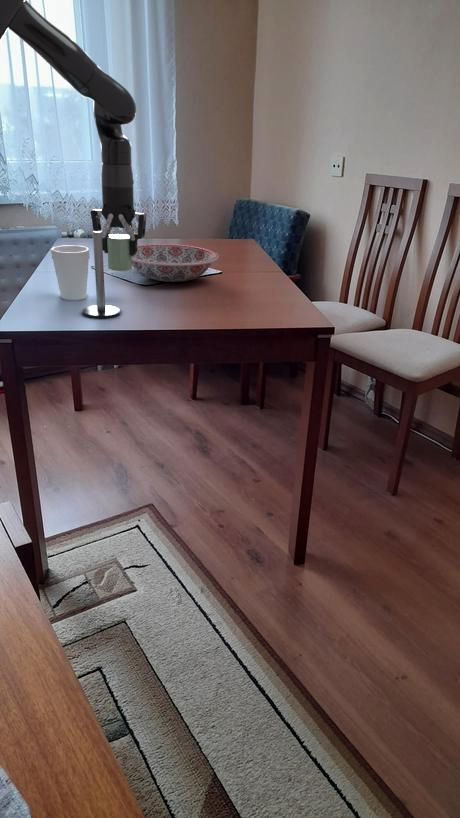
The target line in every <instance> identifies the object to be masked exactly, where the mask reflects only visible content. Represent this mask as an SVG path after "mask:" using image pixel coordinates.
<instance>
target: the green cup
mask: <svg viewBox="0 0 460 818" xmlns="http://www.w3.org/2000/svg"><path fill="white" fill-rule="evenodd" d="M130 241H131V239H130V237H129V235H128V234H121V233H120V234H119V233H117V234H116V233H115V234H113V233H112V234H109V235H108V236H107V246H108V253H107V265H108V269H109V270H110V271H116V272H127V271H131V270H133V266H132V256H131V255H130Z"/></svg>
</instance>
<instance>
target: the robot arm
mask: <svg viewBox="0 0 460 818" xmlns="http://www.w3.org/2000/svg"><path fill="white" fill-rule="evenodd" d="M8 29H9V30H10V31H11V32H12V33H14V34H15V35H16V36H18V37H19V38H20V39H21V41H23V42H24V43H25V44H27V45H28V46H29V47H30V48H31V49H32V50H33V51H34V52H36V53H37V54H38V55H39V56H40V57H42V59H43V60H44V61H45V62H46V63H47V64H48V65H50V66H51V67H52V68H53V70H54V71H55V72H56V73H57V74H58V75H59V76H60V77H61V78H62V79H63V80H64V81H66V83H67V84H68V85H70V87H72V89H73V90H74V91H75V92H76V93H78V94H79V95H81V97H83V98H87V99H89V100H92V101H93V108H92V109H93V118H94V122H95V128H96V130H97V134H98V138H99V141H100V151H101V152H100V153H101V154H100V155H101V169H100V170H101V172H100V173H101V175H100V176H101V177H100V178H101V193H102V194H101V197H102V198H101V199H102V208H101V209H98V208H95V209H91V211H90V218H91V224H92V229H93V230H92V232H93V231H101V232H102V248H103V254H108V246H107V236H108V235H110V233H111V231H112V229H113V228H114V229H115V228H120V229H124V231H125V232H126V234H127V235H129V237H130V239H131V241H130V255H131V256H134V255H135V253H137V251H138V249H137V246H138V241H139V240H141V239H143V238H145V236H146V227H147V226H146V225H147V214H146V212H143V213H142V212H137V211H136V210H135V207H134V204H135V202H134V183H135V182H134V174H133V165H132V163H133V162H132V143H131V140H130V139H129V138H128V137H126V136H125V135H124V133H123V129H122V126H124V125H128V124H130V123H132V122H133V121H134V120H135V118H136V115H137V104H136V102H135V100H134V97H133V96H132V94H131V93H130V91H128V90H127V89H126V88H125V87H124V86H123V85H122V84H121V83H119V82H118V81H117V80H116V79H114V78H113V77H112V76H110V75H109V74H108V73H107V72H105V71H103V70H102V69H101V68H100V67H99V65H97V63H96V62H95V61H94V60H93V59H92V58H91V56H90V55H88V53H87V52H86V51H84V49H83V47H81V46H80V45H79V44H77V43H76V42H75V41H74V40H73V38H71V37H69V36H68V35H67V34H66V33H65V32H63V31H62V30H61V29H59V28H58V27H56V26H55V25H53V24H52V23H51V22H50V21H49V20H48V19H46V18H45V17H44V16H43V15H42V14H41V13H40V12H38V10H36V8H34V7H33V6H32V5H31V3H29V2H28V1H27V0H0V42H1V40H2V39H3V37H4V36H5V34H6V33H7V31H8ZM102 216H103V218H104V219H105V223H104V225H103V227H102V223H101V218H102ZM134 219H136V222H137V231H136V228H135V226H134V223H133V220H134ZM102 228H103V229H102Z"/></svg>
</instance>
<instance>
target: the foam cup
mask: <svg viewBox="0 0 460 818" xmlns="http://www.w3.org/2000/svg"><path fill="white" fill-rule="evenodd" d="M50 253H51V259H52V263H53V267H54V271H55V275H56V280H57V284H58V288H59V293H60V297H61V299H63V300H65V301H66V300H67V301H81V300H84V299H86V298H87V291H88V276H89V262H90V255H91V254H90V248H89V247H87V246H84V245H73V244H68V245H67V244H65V245H56V246H52V248H51V249H50Z"/></svg>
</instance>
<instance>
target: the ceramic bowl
mask: <svg viewBox="0 0 460 818" xmlns="http://www.w3.org/2000/svg"><path fill="white" fill-rule="evenodd" d="M137 249H138V251H137V253H135V255H134V256H132V268H134V269H135V271H136V272H138V273H139V274H140V275H142V276H144V277H145V278H147V279H151V280H153V281H159V282H166V283H167V282H168V283H180V282H188V281H192V280H195V279H197V278H199V277H201V276H203V274H204V273H206V272H207V270H208V269H209V268H210V266H211V265H212V263H214V262H216V261H218V260H219V254H218V253H217V252H215V251H214V250H211V249H208V248H205V247H199V246H194V245H186V244H178V243H177V244H176V243H149V244H140V245H139V244H138V245H137Z"/></svg>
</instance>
